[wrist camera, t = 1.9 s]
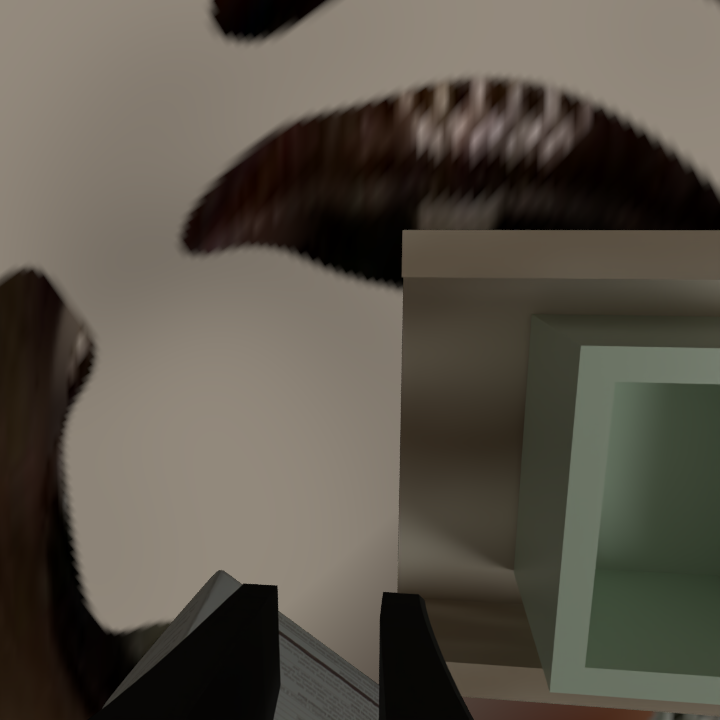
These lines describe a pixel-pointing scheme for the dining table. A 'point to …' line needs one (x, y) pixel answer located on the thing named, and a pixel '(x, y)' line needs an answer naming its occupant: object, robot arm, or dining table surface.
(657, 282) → the bay
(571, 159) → the dining table surface
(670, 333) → the box
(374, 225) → the dining table surface
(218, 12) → the dining table surface
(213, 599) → the supplement box
